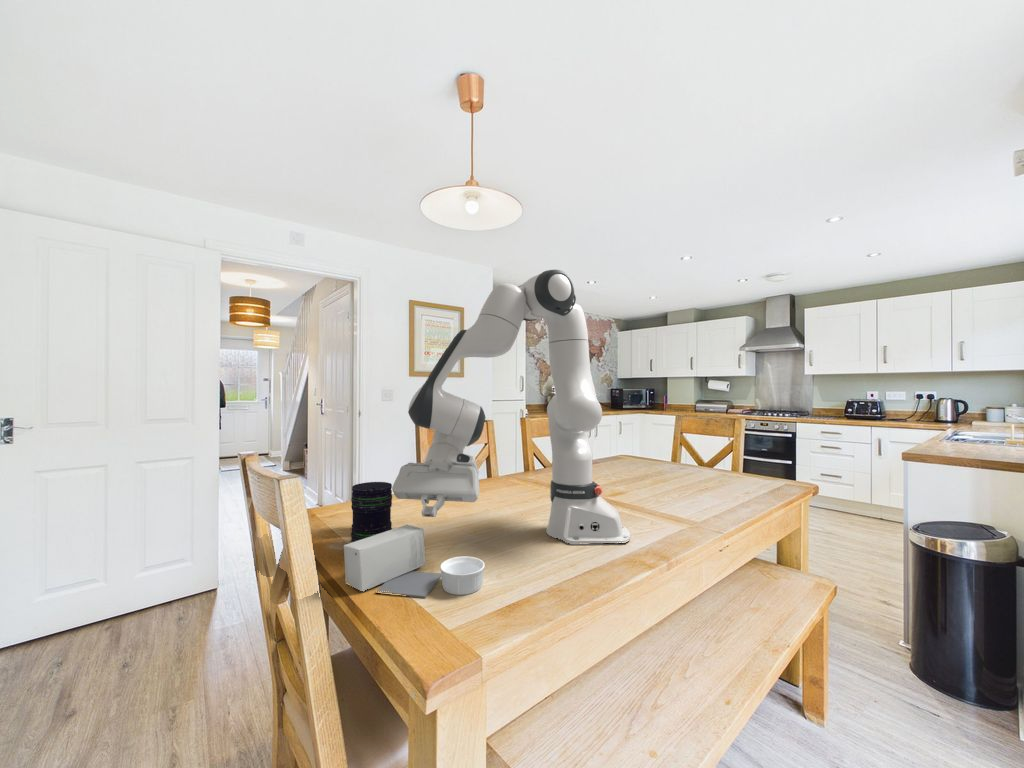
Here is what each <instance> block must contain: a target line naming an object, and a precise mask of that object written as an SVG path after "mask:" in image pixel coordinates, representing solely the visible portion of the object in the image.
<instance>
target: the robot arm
mask: <svg viewBox="0 0 1024 768" xmlns="http://www.w3.org/2000/svg"><path fill="white" fill-rule="evenodd" d="M576 299H577V296H576V295H575V288H574V284H573V282H572V280H571V278H570V276H569V275H568V274H567V273H566V272H564V271H563V270H560V269H549V270H545V271H543V272H541V273H538V274H536V275H534V276H532V277H530V278H528V279H527V280H526V281H524V283H522V284H520V285H519V286H517V285H515V284H512V283H508V282H507V283H506V282H502V283H499V284H497V285H496V286H494V288H492V290H491V292H490V293H489V294H488V296H487V298H486V300H485V302H484V303H483V306H482V308H481V309H480V312H479V315H478V317H477V319H476V320H475V322H474V323H473V325H472V326H470V327H469V328H467V329H461V330H460V331H459V332H458V333H457V334H456V335H455V336H454V337H453V338H452V340H451V342H450V343H449V345H448V347H446V349H445V350H444V351H443V353H442V355H441V356H440V357H439V360H438V361H437V363H435V366H434V367H433V368H432V370H431V372H430V374H429V375H428V377H427V378H426V380H425V382H424V383H423V384H422V385H421V387H420V388H418V390H417V391H416V392H415V394H413V396H412V398H411V400H410V403H409V405H408V411H407V412H408V415H409V418H410V420H411V421H412V423H413V424H414V425H415V426H416V427H419V428H423V429H428V430H429V429H430V430H433V431H434V432H433V435H432V443H431V444H430V446H429V447H428V451H427V453H426V457H425V459H424V462H407V463H406V464H404V465H402V466H401V467H400V469H399V472H398V475H397V476H396V478H395V480H394V482H393V485H392V488H391V490H392V493H393V494H394V496H395V497H396V499H399V500H413V501H415V500H417V501H419V500H420V501H421V505H422V509H421V516H422V517H425V518H426V517H427V518H436V517H437V514H438V511H440V509H441V508H442V507H443V506H445V502H462V503H475V502H476V501H477V500H478V499H479V496H480V480H479V475H480V474H479V473H480V471H479V465H478V463H477V460H476V458H475V456H472V455H469V454H467V453H464V449H465V448H466V447H470V446H471V445H473V444H474V443H476V442H477V441H478V440H479V439H480V437H481V436H482V433H483V432H484V431H483V430H484V426H485V421H486V415H485V411H484V409H483V407H482V406H481V405H479V404H477V403H475V402H472V401H470V400H468V399H465V398H461V397H460V396H457V395H454V394H451V393H449V392H446V391H445V390H444V389H443V388H442V387H443V385H444V383H445V382H446V380H447V378H448V376H449V375H450V373H451V372H452V370H453V369H454V367H455V366H456V364H457V363H458V362H459V361H460V360H462V359H465V358H486V359H488V358H498V357H500V356H503V355H505V354H506V353H508V352H509V351H511V349H512V348H513V346H514V343H515V342H516V339H517V337H518V335H519V332H520V329H521V326H522V322H523V321H525V322H532V321H533V322H534V321H536V320H540V319H543V321H544V322H545V325H546V326H547V332H548V335H547V336H548V338H547V340H548V358H549V371H550V375H551V377H552V381H553V385H554V390H555V395H554V396H552V398H551V399H550V400H549V402H548V404H547V407H546V413H547V418H548V428H549V438H550V444H551V446H550V447H551V455H552V457H551V460H552V461H551V462H552V463H551V464H552V465H551V468H552V469H551V471H552V475H551V477H552V478H551V480H550V485H549V489H550V490H549V492H550V493H549V495H550V496H549V497H550V501H551V505H550V512H549V519H548V524H547V527H546V530H545V531H546V534H547V535H548V536H550V537H551V536H552V538H554V539H556V538H558V539H557V540H560V539H561V540H560V541H562V540H563V541H562V542H564V541H565V542H564V543H566V542H567V543H566V544H568V543H571V544H570V545H581V544H580V543H617V542H618V543H619V542H621V543H622V542H626V541H628V540H629V539H630V540H631V534H630V531H629V529H628V528H627V527H626V526H624V525H622V519H621V516H620V513H619V512H618V510H617V509H616V508H615V507H614V506H613V505H611V504H610V503H609V502H608V501H606V499H604V498H603V497H601V495H602V494H603V488H602V487H601V485H600V484H598V482H594V480H593V452H592V449H591V446H590V441H589V436H588V432H590V431H593V430H594V429H595V428H597V427H598V426H599V424H600V423H601V420H602V418H603V409H602V405H601V404H600V402H599V400H598V397H597V393H596V389H595V384H594V380H593V376H592V370H591V365H590V364H591V363H590V345H589V334H588V333H589V332H588V325H587V321H586V317H585V313H584V309H583V308H582V306H581V305H580V304H578V303H576ZM430 501H435V504H433V505H432V506H428V504H429V503H430Z"/></svg>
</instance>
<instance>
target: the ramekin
mask: <svg viewBox="0 0 1024 768" xmlns="http://www.w3.org/2000/svg"><path fill="white" fill-rule="evenodd" d="M485 565H486V564H485V562H484V560H482V559H480V558H478V557H474V556H467V555H465V556H454V557H450V558H448V559H446V560H444V561H442V563H440V566H439V571H440V573H441V575H442V577H441V585H442V588H443V590H444V591H445V592H446V593H447V594H450V595H454V596H467V595H470V594H474V593H476V592H478V591H479V590H480V589H481V588H482V586H483V582H484V571H485Z"/></svg>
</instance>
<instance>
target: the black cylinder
mask: <svg viewBox="0 0 1024 768" xmlns="http://www.w3.org/2000/svg"><path fill="white" fill-rule="evenodd" d="M392 487H393V485H392V483H391V482H385V481H369V482H361V483H356V484H354V485H352V486H351V491H352V492H351V499H350V500H351V507H350V508H351V510H352V524H351V531H350V538H351V539H350V540H351V541H350V543H352V542H355V541H358V540H361V539H365V538H368V537H371V536H374V535H377V534H380V533H383V532H386V531H389V530H392V529H393V528H392V520H391V519H392V518H391V516H392V515H391V513H392V511H391V509H392V507H393V506H392V504H393V502H392V500H393V494H392V493H393V490H392Z"/></svg>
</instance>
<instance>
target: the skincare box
mask: <svg viewBox="0 0 1024 768" xmlns="http://www.w3.org/2000/svg"><path fill="white" fill-rule="evenodd" d="M424 532H425V530H424V528H421V527H417V526H414V525H410V524H405V525H402V526H399V527H395V528H392V530H389V531H386V532H383V533H380V534H377V535H374V536H371V537H368V538H365V539H361V540H358V541H355V542H350V543H347V544H346V543H345V544H344V545H343V554H344V555H343V556H344V557H343V558H344V573H345V574H344V577H345V584H346V583H348V584H350V585H351V586H353V587H354V588H356V589H358V590H360V591H363V592H365V590H366V591H368V590H369V589H373V588H374V587H377V586H379V585H383V584H384V583H385V582H386V581H389V580H391V579H393V578H396V577H398V576H400V575H403V574H405V573H407V572H410V571H415V570H416V569H418V568H421V567H423V566H425V565H426V554H425V538H424V537H425V536H424V535H425V534H424ZM351 586H350V587H351ZM353 587H352V588H353ZM354 588H353V589H354ZM356 589H355V590H356ZM367 589H368V590H367ZM358 590H357V591H358ZM360 591H359V592H360Z"/></svg>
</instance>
